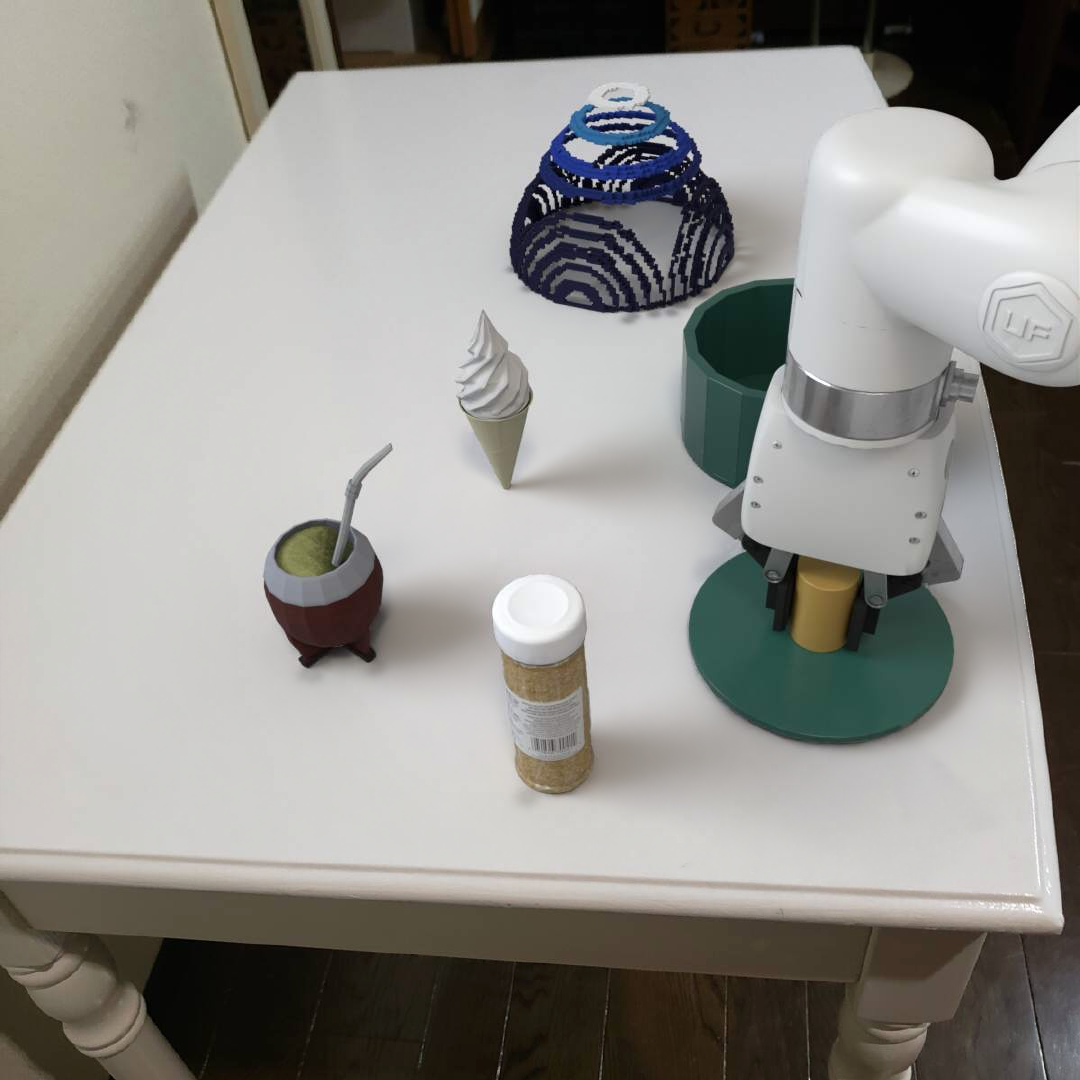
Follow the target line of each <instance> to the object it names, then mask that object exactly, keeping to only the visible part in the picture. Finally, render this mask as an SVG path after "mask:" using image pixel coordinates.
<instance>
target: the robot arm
mask: <svg viewBox="0 0 1080 1080" xmlns="http://www.w3.org/2000/svg"><path fill="white" fill-rule="evenodd" d="M803 194H804V196H803V201H802V202H803V204H802V210H801V211H802V212H801V220H800V228H799V229H800V230H799V238H798V247H797V253H796V254H797V256H796V264H795V273H794V278H795V281H794V289H793V298H792V307H791V316H790V325H789V334H788V344H787V353H786V362H785V364H784V365H783V366H781V367H780V368H778V369H777V371H776V372H775V374H774V376H773V378H772V380H771V383H770V385H769V388H768V391H767V394H766V397H765V401H764V404H763V408H762V411H761V415H760V418H759V422H758V426H757V430H756V434H755V438H754V442H753V447H752V452H751V457H750V462H749V467H748V473H747V478H746V479H745V480H744V481H743V482H742V483H741V484H740V485H739V486H738V487H736V488H735V489H734V488H733V490H731V492H729V494H727V495H726V496H725V497H724V498H722V500H721V501H719V502H718V504H717V506H716V509H715V511H714V513H713V515H712V518H711V522H712V523H713V525H714V526H716V527H717V528H718V529H720V531H723V532H724V533H725V534H727V535H728V536H729V537H731V538H732V539H734V540H735V541H737V540H738V541H740V545H741V547H742V548H743V550H744V551H747V552H748V553H749V554H750V555H751V556H752V557H753V558H754V559H755V560H756V561H757V563H758V564H759V565H760V566H761V567H762V568H763V569H764V570H763V574H762V575H763V577H764V579H765V580H767V581H768V589H767V598H766V606H765V607H766V608H769V609H773V610H775V613H774V620H773V628H772V630H773V631H777V632H781V631H785V629H786V626H787V623H788V620H789V617H790V613H791V606H792V599H793V592H794V584H795V577H796V570H797V563H798V560H799V558H800V557H799V555H804V556H808V557H812V558H816V559H820V560H824V561H829V562H833V563H837V564H842V565H846V566H850V567H855V568H859V569H864V573H863V576H862V579H861V583H860V586H859V590H858V593H857V597H856V600H855V604H854V608H853V613H852V617H851V622H850V627H849V632H848V637H847V642H846V647H848V648H849V649H848V650H851V651H855V652H857V651H858V647H859V644H860V640H861V636H862V633H863V632H864V633H868V634H872V635H874V634H875V631H876V627H877V623H878V619H879V615H880V611H881V608H883V607H885V606H886V605H887V601H888V600H889V599H891V598H894V597H897V596H900V595H903V594H905V593H908V592H911V591H914V590H917V589H918V588H920V587H921V585H922V584H923V585H928V586H933V585H938V584H946V583H951V582H957V581H959V580H960V579H961V577H962V572H963V568H964V563H965V558H964V556H963V554H962V552H961V550H960V549H959V547H958V545H957V543H956V541H955V539H954V537H953V536H952V533H951V531H950V529H949V528H948V525H947V524H946V522H945V520H944V518H943V516H942V513H943V510H944V509H943V508H944V504H945V499H946V495H947V491H948V486H949V485H948V484H949V479H950V474H951V469H952V465H953V458H954V452H955V451H954V450H955V444H956V443H955V441H956V424H957V423H956V421H957V419H956V403H957V401H960V402H965V403H970V404H974V400H975V396H976V393H977V389H978V384H979V380H980V376H981V375H980V374H976V373H970V372H966V371H965V368H959V367H956V366H957V363H958V360H951V359H952V357H953V356H952V355H953V352H954V349H957V350H958V351H960V352H962V353H963V354H965V355H967V356H968V357H970V358H972V359H974V360H976V361H977V362H979V363H980V364H981V363H982V364H983V365H985V366H986V367H989V368H991V369H992V370H996V371H997V372H999V373H1001V374H1003V375H1006V376H1009V377H1011V378H1013V379H1016V380H1019V381H1022V382H1025V383H1030V384H1034V385H1038V386H1043V387H1051V388H1056V387H1057V388H1065V387H1066V388H1069V387H1074V386H1075V387H1076V386H1079V385H1080V105H1078V106H1077V107H1076V108H1075V109H1074V110H1073V112H1071V113H1070V114H1069V116H1067V118H1065V119H1064V120H1063V122H1062V123H1060V125H1059V126H1058V127H1057V128H1056V129H1055V130H1054V131H1053V133H1051V135H1049V137H1048V138H1047V139H1046V140H1045V142H1044V143H1043V144H1042V145H1041V146H1040V147H1039V148H1038V149H1037V151H1036V152H1035V153H1034V154H1033V155H1032V156H1031V157H1030V159H1029V160H1028V161H1027V162H1026V164H1025V165H1024V166H1023V168H1022V169H1021V170H1020V171H1019V173H1018V174H1017V175H1016V176H1015V177H1011V178H1009V179H1004V180H1001V179H998V178H997V177H996V176H995V165H994V157H993V153H992V150H991V148H990V145H989V143H988V142H987V140H986V138H985V137H984V135H982V134H981V133H980V132H979V131H978V130H977V129H976V128H975V127H974V126H972V125H970V124H969V123H968V122H966V121H964V120H962V119H960V118H959V117H956V116H954V115H951V114H948V113H945V112H942V111H938V110H934V109H928V108H921V107H913V106H888V107H876V108H871V109H865V110H862V111H858V112H855V113H853V114H850V115H848V116H845V117H844V118H842V119H840V120H839V121H837V122H835V123H833V124H832V125H831V126H830V127H828V128H827V129H826V130H825V131H824V132H823V133H822V134H821V136H820V137H819V138H818V140H817V142H816V143H815V145H814V147H813V149H812V151H811V154H810V157H809V161H808V166H807V172H806V177H805V185H804V193H803ZM964 371H965V372H964Z"/></svg>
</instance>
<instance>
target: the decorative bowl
mask: <svg viewBox="0 0 1080 1080" xmlns="http://www.w3.org/2000/svg"><path fill="white" fill-rule="evenodd" d="M617 91H619V92H620V91H621V92H628V93H633V97H630V96H621V97H617V98H614V97H610V98H605V96H606V95H607V94H608V93H612V92H617ZM649 99H651V91H650V88H649V87H648V86H645V85H640V83H634V82H627V81H621V82H615V81H611V82H607V83H602V85H600V86H599V87H598V86H597V87H595V88H594V89H593V90H592V91H591V93H589V94H588V99H587V103H588V104H584V106H582V107H581V108H580V109H579V110H575V111H574V112H573V113H572V114H571V115H570V119H569V123H568V124H567V125H565V127H564V128H563V129H562V130H561V131H560V132H559V133H558V134H557V135H556V136H555V137H554V138H553V139H552V140H551V142H550V146H549V149H548V150H547V151H546V152H545V153H544V154H542V156H541V157H540V161H539V166H538V171H537V173H536V174H535V177H534V178H533V179H532V180H531V181H530V182H529V183H528V185H527V186H526V187H524V192H523V196H522V197H521V198H520V201H519V202H518V203H517V207H516V211H515V212H514V216H513V220H512V224H511V234H510V238H509V245H510V247H509V248H508V249H509V250H508V251H509V257H510V265H511V266H512V268H513V273H514V274H517V279H518V280H521V282H523V284H524V286H525V287H528V289H529V290H530V291H533V292H534V294H538V295H541V297H544V298H545V300H550V301H552V303H554V304H560V305H564V306H569V307H575V308H579V309H585V310H588V311H593V312H599V313H603V314H605V312H608V313H613V314H614V313H616V312H617V313H618V312H619V311H621V312H627V313H632V312H637V313H638V312H639V311H640V310H646V311H650V310H654V309H658V308H665V307H666V306H673V305H674V304H678V303H679V302H680V303H682V302H683V301H684V302H686V301H687V300H688V298H689V297H692V298H695V297H696V296H697V295H701V294H702V292H703V291H704V289H708V288H712V286H713V285H714V284H717V283H718V282H719V280H720V279H721V277H722V276H723V274H724V273H725V271H726V269H728V266H729V265H730V263H731V262H732V260H733V258H734V257H735V249H736V248H735V239H734V238H735V234H734V230H735V226H734V222H732V221H733V214H731V212H730V207H729V206H728V204H729V202H728V200H727V199H726V197H725V194H724V192H723V191H722V190H723V187H722V186H720V182H719V181H718V182H717V180H716V179H715V177H711V176H709V175H707V174H706V173H705V172H704V170H702V168H701V167H700V166H701V164H702V162H703V154H702V153H701V150H698V145H697V142H695V138H694V137H691V136H690V133H689V132H686V128H685V129H684V127H681V125H678V123H677V122H676V121H672V119H671V111H669V110H668V109H666V107H665V106H664V105H661V104H659V103H654V102H653V101H649ZM636 107H643V108H649V109H648V110H651V112H647V111H642V110H641V109H638V110H634V109H635V108H636ZM595 109H599V110H604V111H601V112H597V113H593V114H589V115H588V116H587V113H592V112H593V111H594V110H595ZM605 110H606V112H605ZM607 111H608V112H607ZM614 119H617V120H620V119H627V120H633V119H638V120H646V121H652V122H651V123H650V124H648V123H647V124H646V123H639V122H636V123H635V124H631V123H629V122H622V121H621V122H620V123H619V122H614V123H607V124H606V123H605V124H599V125H594V124H595V122H596V123H597V122H600V121H601V120H603V121H610V120H614ZM589 123H594V124H591V125H589V126H588V124H589ZM616 131H619V132H617V133H616ZM625 131H629V133H628V132H625ZM660 136H665V138H668V139H669V138H670V139H673V141H675V142H676V143H675V147H677V148H676V149H675V148H674V146H670V145H666V143H661V142H655V141H650V140H651V139H655V138H656V137H660ZM575 139H576V140H578V139H581V140H584V141H586V142H587V143H592V144H593V145H596V146H601V147H602V146H603V147H607V146H611V148H609V147H608V148H606V149H605V150H604V152H602V153H601V154H599V155H598V156H597V159H594V160H593V161H592V162H589V161H585V159H582V158H578V157H577V156H573V155H572V154H571V152H570V151H569V150H567V147H566V146H565V145H567V144H568V143H569V142H573V141H574V140H575ZM623 151H624V152H623ZM616 152H621V153H618V154H617V155H616ZM690 153H691V154H692V160H691V158H690V157H689V156H688V155H689V154H690ZM643 154H644V155H643ZM645 154H646V155H645ZM647 155H649V156H647ZM629 157H631V158H629ZM608 159H611V160H610V161H608V163H607V164H606V161H607V160H608ZM634 162H635V163H634ZM601 166H602V168H601ZM671 173H673V174H671ZM574 177H575V178H574ZM581 177H582V179H581ZM693 178H694V179H693ZM594 180H597V181H595V185H594ZM617 180H619V181H618V186H615V188H614V189H613V187H614V185H615V184H616V181H617ZM628 180H630V182H629V190H628V191H626V190H624V191H623V187H624V186H625V185H626V184H628ZM609 181H611V182H609ZM607 182H609V183H608V189H607V190H605V187H604V185H607ZM579 183H581V186H579ZM543 186H546V187H547V188H549V191H550V192H551V195H552V198H553V201H554V208H552V205H551V204H550V198H549V193H548V191H547V190H546V189H545V188H544V187H543ZM685 186H686V187H685ZM687 189H689V190H688V191H689V192H687ZM557 192H558V195H557ZM689 194H690V195H691V196H690V197H691V199H690V200H689ZM535 195H536V196H539V197H540V198H541V199H542V202H541V201H540V198H539V197H536V196H535ZM559 195H560V199H559ZM669 196H670V197H669ZM581 198H583V199H581ZM559 200H560V201H559ZM646 201H647V202H649V201H650V202H653V201H656V202H662V203H668V204H671V206H675V207H676V206H677V207H682V209H681V210H680V216H682V217H681V218H682V219H681V220H680V224H679V226H678V230H677V235H676V239H675V241H674V244H673V249H672V253H671V257H672V258H674V259H670V266H669V269H668V272H667V278H668V279H669V280H670V288H669V292H670V300H669V299H667V297H668V293H667V292H668V291H667V290H666V289H664V280H665V276H663V275H662V270H661V269H659V264H658V263H655V262H656V257H653V254H651V253H650V251H649V250H647V247H644V244H643V243H641V240H638V237H637V236H636V231H635V232H634V231H633V228H628V229H624V223H623V224H622V223H621V221H620V220H613V221H612V220H605V217H604V216H599V215H594V214H588V213H583V212H577V211H576V212H575V211H573V213H568V211H563V210H567V209H571V208H572V207H578V206H580V207H581V206H582V205H583V204H585V205H588V204H593V202H599V203H600V202H601V204H603V205H610V206H615V205H624V204H625V205H631V206H636V204H637V203H641V202H646ZM543 204H545V211H546V212H543V211H544V210H543ZM692 212H693V213H692ZM553 215H554V216H553ZM702 217H703V218H702ZM527 219H528V220H529V221H530V222H527V224H526V220H527ZM567 219H568V220H571V221H572V222H576V223H581V224H587V225H593V226H598V229H599V230H603V231H610V232H611V231H612V230H615V231H616V236H619V239H624V240H625V243H630V242H631V247H634V253H637V254H640V257H641V258H643V263H645V264H646V267H649V270H652V279H654V280H655V285H658V294H661V295H662V299H658V300H655V301H651V292H652V289H653V287H652V282H650V280H649V279H650V278H649V276H648V275H646V274H647V273H646V272H644V271H643V270H644V269H643V268H644V267H643V266H641V264H640V262H638V260H637V259H635V257H634V253H631V252H627V253H625V252H626V251H625V250H626V249H625V248H626V247H625V246H624V245H619V242H617V240H618V238H617V237H616V236H615V235H614V233H610V232H603V233H600V232H595V231H589V230H584V229H577V228H572V227H570V226H569V225H564V224H560V221H566V220H567ZM697 220H698V222H696V221H697ZM704 221H705V222H704ZM559 224H560V225H559ZM686 224H689V225H688V226H687V230H686V233H683V230H684V229H685V225H686ZM557 225H559V226H557ZM702 225H703V226H702ZM549 226H550V227H554V228H548V230H547V232H548V233H547V234H545V235H544V236H540V237H539V238H537V237H538V236H539V235H541V233H543V231H545V230H546V227H549ZM701 226H702V228H701V230H700V232H699V236H698V240H697V241H696V246H695V249H694V251H693V254H692V253H690V251H691V246H692V245H693V240H694V237H695V235H696V231H697V230H698V227H701ZM713 227H715V228H716V229H717V231H716V233H715V235H714V239H713V241H712V245H711V246H710V248H709V252H708V256H707V253H704V250H706V249H705V247H706V245H707V241H708V239H709V235H710V234H711V230H712V228H713ZM565 236H568V238H572V239H576V240H583V241H587V242H588V241H589V242H593V243H599V242H604V243H603V247H605V248H606V250H607V251H611V252H612V254H613V255H617V256H618V259H621V262H624V265H626V266H630V270H631V271H630V273H631V275H634V276H636V278H637V279H636V280H637V282H639V285H640V286H639V290H640V291H642V296H643V297H642V298H643V300H645V304H643V303H641V304H640V302H639V301H637V293H636V292H634V287H633V286H631V281H630V280H628V277H625V274H624V273H622V270H619V267H617V266H616V264H617V259H614V256H612V255H611V252H606V251H605V248H599V247H593V246H588V247H585V246H579V245H578V243H572V242H567V241H562V240H564V239H565ZM722 236H724V244H723V246H721V248H720V250H719V254H718V256H717V259H716V266H715V268H714V269H715V271H714V274H713V275H712V276H711V278H710V272H711V270H712V269H711V268H712V264H713V257H714V256H715V252H716V248H717V246H718V242H719V241H720V239H721V238H722ZM536 238H537V239H536ZM557 239H561V240H560V241H559V242H558V243H557V244H556V245H554V247H553V249H550V250H549V251H547V252H546V253H545V254H544V256H542V257H541V258H539V259H538V260H537V261H536V262H535V263H534V266H533V270H532V271H530V275H529V268H531V264H532V263H533V262H534V261H535V260H536V257H538V252H539V251H541V250H545V249H546V245H548V246H550V245H551V243H553V242H554V241H555V240H557ZM685 239H687V242H684V241H685ZM534 240H535V241H534ZM533 241H534V242H533ZM531 245H532V247H531V248H529V247H530V246H531ZM528 248H529V249H528ZM527 250H528V253H526V252H527ZM682 253H684V255H681V254H682ZM706 257H707V260H704V259H706ZM562 259H564V260H571V261H575V260H577V259H579V260H584V261H585V263H586V264H592V265H596V266H600V269H602V270H603V272H604V273H609V277H612V279H613V280H615V282H616V283H617V284H618V291H619V292H621V295H623V296H624V304H627V305H626V306H623V305H620V293H617V287H615V286H614V284H613V283H611V281H610V280H608V277H606V276H605V274H604V273H599V270H597V269H593V266H591V265H586V264H581V263H575V262H570V261H565V262H564V263H563V264H562V265H556V267H554V268H553V269H552V270H551V271H549V272H548V274H546V275H545V278H544V272H545V271H546V270H547V269H548V268H549V267H551V265H554V263H556V264H558V263H559V261H562ZM689 259H692V262H691V269H690V275H687V273H686V270H687V268H688V262H689ZM724 261H725V262H724ZM675 264H678V267H677V272H674V267H675ZM567 270H569V271H574V272H580V273H583V274H589V275H590V277H592V278H596V281H598V282H599V284H600V285H604V286H605V291H607V292H608V297H611V305H609V304H606V302H603V296H600V291H599V290H597V287H595V286H591V283H589V282H583V281H579V280H574V279H567V278H563V279H562V280H560V282H559V283H557V284H556V285H555V286H554V292H553V293H550V292H552V286H551V283H553V281H556V278H557V277H556V276H558V277H560V276H561V275H562V274H563V275H564V272H566V271H567ZM703 273H704V276H703ZM677 276H679V284H681V285H682V294H681V293H680V294H679V295H676V277H677ZM543 278H544V279H543ZM703 278H704V279H703ZM542 279H543V281H541V280H542ZM702 279H703V284H699V280H702ZM688 288H689V289H690V291H689V292H688ZM574 291H575V292H580V293H582V295H583V296H585V297H586V299H587V300H588V301H589V303H591V304H585V303H581V302H576V301H570V300H568V299H567V297H568V296H570V295H571V294H572V293H573V292H574Z"/></svg>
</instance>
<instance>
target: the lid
mask: <svg viewBox="0 0 1080 1080" xmlns="http://www.w3.org/2000/svg"><path fill="white" fill-rule="evenodd" d="M799 557H800V558H799V560H798V563H797V570H796V577H795V584H794V592H793V599H792V606H791V613H790V617H789V620H788V623H787V626H786V629H785V631H781V632H777V631H773V630H772V628H773V620H774V613H775V610H773V609H769V608H766V607H765V606H766V598H767V589H768V581H767V580H765V579H764V577H763V575H762V574H763V570H764V569H763V568H762V567H761V566H760V565H759V564H758V563H757V561H756V560H755V559H754V558H753V557H752V556H751V555H750V554H749V553H748V552H747V551H746V550H744V551H743V552H741V553H739V554H737V555H735V556H733V557H731V558H730V559H728V560H726V561H725V562H724V563H723V564H721V565H720V566H718V567H717V568H716V569H715V570H714V571H713V572H712V573H711V574H710V575H709V576H708V577H707V578H706V580H705V581H704V582H703V583H702V585H701V586H700V588H699V589H698V592H697V593H696V595H695V597H694V599H693V602H692V605H691V609H690V613H689V620H688V643H689V649H690V652H691V656H692V659H693V661H694V664H695V667H696V669H697V670H698V672H699V674H700V676H701V677H702V679H703V681H704V682H705V684H706V685H707V686H708V687H709V689H710V690H711V691H712V692H713V694H714V695H715V696H716V697H718V698H719V699H720V700H721V701H722V702H723V703H724V704H725V705H726V706H727V707H729V708H730V709H731V710H732V711H734V712H735V713H737V715H739V716H741V717H743V718H745V719H746V720H748V721H749V722H751V723H753V724H755V725H757V726H759V727H761V728H763V729H766V730H768V731H770V732H773V733H776V734H779V735H781V736H784V737H788V738H790V739H791V738H793V739H796V740H801V741H805V742H813V743H821V744H851V743H861V742H865V741H870V740H875V739H879V738H883V737H885V736H888V735H891V734H894V733H896V732H898V731H901V730H902V729H904V728H906V727H908V726H910V725H911V724H913V723H915V722H916V721H918V720H919V719H920V718H922V717H923V716H924V715H925V714H926V713H928V711H929V710H931V708H933V706H934V705H935V704H936V703H937V701H938V700H939V699H940V697H941V696H942V694H943V693H944V691H945V688H946V687H947V685H948V683H949V679H950V676H951V673H952V670H953V666H954V660H955V659H954V658H955V643H954V636H953V632H952V628H951V624H950V622H949V619H948V617H947V615H946V613H945V611H944V609H943V607H942V606H941V604H940V602H939V601H938V599H937V598H936V597H935V596H934V595H933V593H932V592H931V591H930V590H929V589H928V587H926V586H925V584H922V585H921V587H920V588H918V589H917V590H914V591H911V592H908V593H905V594H903V595H900V596H897V597H894V598H891V599H889V600H888V601H887V605H886V606H885V607H883V608H881V611H880V615H879V619H878V623H877V627H876V631H875V634H874V635H872V634H868V633H864V632H863V633H862V636H861V640H860V644H859V647H858V651H857V652H855V651H851V650H848V649H849V648H848V647H846V642H847V637H848V632H849V627H850V622H851V617H852V613H853V608H854V604H855V600H856V597H857V593H858V590H859V586H860V583H861V579H862V576H863V573H864V569H859V568H855V567H850V566H846V565H842V564H837V563H833V562H829V561H824V560H820V559H816V558H812V557H808V556H804V555H799Z"/></svg>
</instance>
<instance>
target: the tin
mask: <svg viewBox="0 0 1080 1080" xmlns="http://www.w3.org/2000/svg"><path fill="white" fill-rule="evenodd" d="M794 281H795V277H786V278H785V277H783V278H768V279H755V280H752V281H748V282H744V283H741V284H737V285H735V286H731V287H726V288H725V289H721V290H720V291H718V292H717V293H715V294H714V295H712V296H711V297H709V298H708V299H706V300H705V301H703V302H702V303H700V304H698V306H696V307H695V308H694V309H693V311H692V313H691V315H690V317H689V318H688V320H687V322H686V324H685V325H684V327H683V330H682V355H681V356H682V357H681V359H682V360H681V393H680V425H681V437H682V442H683V446H684V447H685V450H686V452H687V454H688V456H689V457H690V458H691V460H692V461H693V462H694V463H695V465H697V467H698V468H699V469H700V470H701V471H702V472H704V474H706V475H708V476H709V477H710V478H712V479H714V480H715V481H717V482H719V483H721V484H723V485H725V486H727V487H729V488H731V489H733V490H734V489H735V488H736V487H738V486H739V485H740V484H741V483H742V482H743V481H744V480H745V479H746V478H747V473H748V467H749V462H750V457H751V452H752V447H753V442H754V438H755V434H756V430H757V426H758V422H759V418H760V415H761V411H762V408H763V404H764V401H765V397H766V394H767V391H768V388H769V385H770V383H771V380H772V378H773V376H774V374H775V372H776V371H777V369H778V368H780V367H781V366H783V365H784V364H785V362H786V353H787V344H788V334H789V325H790V316H791V307H792V298H793V289H794Z"/></svg>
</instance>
